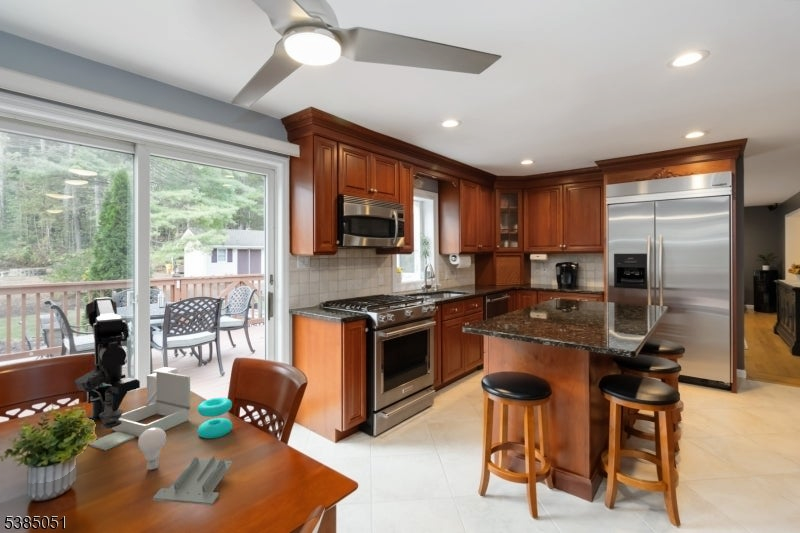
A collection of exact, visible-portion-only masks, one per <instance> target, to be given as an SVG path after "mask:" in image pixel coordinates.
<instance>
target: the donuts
mask: <svg viewBox="0 0 800 533" xmlns="http://www.w3.org/2000/svg"><path fill="white" fill-rule="evenodd" d="M232 407H233V402H232V400H231V399H229V398H227V397H226V398H225V397H215V398H208V399H206V400H205V401H204V400H203V401H202V402H201V403H200V404H199V405H198V406H197V412H198V414H199V415H201V416H202V417H206V418H207V417H208V418H211V419H209V420H205V421H204V422H203V423H201V424H200V425H199V427H198V428H197V433H198V436H199V437H201V438H203V439H216V438H221V437H224V436H225V435H227V434H228V433H230V432H231V430H232V428H233V423H232V421H231V420H230V419H228V418H226V417H225V418H224V417H218V416H222V415H224V414H226V413H228V412H229V411H230V410H231V409H232ZM214 417H217V418H214Z"/></svg>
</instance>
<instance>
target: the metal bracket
mask: <svg viewBox="0 0 800 533" xmlns="http://www.w3.org/2000/svg"><path fill="white" fill-rule="evenodd" d="M232 463H233V461H232V460H225V459H216V458H215V455H214V454H213V455H212V457H211V458H210V459H208V458H207V459H204V458H198V457H197V456H195V457H193V458H192V460H190V462H189V463H188V464H187V466H186V467H185V468H184V469H183V471H182V472H181V473H180V475H178V477H177V478H176V480H175V481H174V482H173V483H172V485H171V486H170V487H169V488H167V487H165V488H164V487H161V488H160V489H159V490H158V491H157V492H156V494H154V495H153V498H152V500H153V501H159V502H166V501H169V502H178V503H179V502H180V503H190V504H191V503H192V504H198V505H205V506H212V505H213V504H214V503H215V501H217V499H218V497H219V496H220V492H214V491H215V489H216V487H218V485H219V483H220V482H221V480H222V478H223V477H224V476H225V474H227V473H226V472H227V471H228V469H230V467H231V465H232Z"/></svg>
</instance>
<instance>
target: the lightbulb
mask: <svg viewBox="0 0 800 533" xmlns="http://www.w3.org/2000/svg"><path fill="white" fill-rule="evenodd" d="M166 441H167V434H166V432H165V430H163V429H161V428H158V427H152V428H149V429H147V430H145V431H144V432H143V433H142V434H141V435H140V437H138V440H137V447H138V449H139V450H140V451H141V453H143V455H144V457H145V459H146V469H147V470H150V471H153V470H155V469H156V468H158V467H159V465H160V464H159V460H160V458H159V457H160V455H161V451H162V449H163V447H164V445H166Z"/></svg>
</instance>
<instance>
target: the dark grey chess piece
mask: <svg viewBox="0 0 800 533" xmlns="http://www.w3.org/2000/svg"><path fill="white" fill-rule="evenodd" d="M109 388H110V389H108V390H106V391H105V392H107V391H110V390H111V386H110V387H109ZM104 403H105V410H104V412H103V413H101V414H100V415H99V417H100V419H101V420H100V421H101V422H102V424H101V425H100V428H101V429H104V430H105V429H111V428H112V429H113V427H116V426H118V425H120V424H121V423H122V421H120V420H118V419H119V418H120V417H121V415H122V414H123V412H124V410H123V409H119V408H118V410H117V411H115V412H114V411H113V410H112V404H111V398H110V395H108V394H107V393H105V401H104Z"/></svg>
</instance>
